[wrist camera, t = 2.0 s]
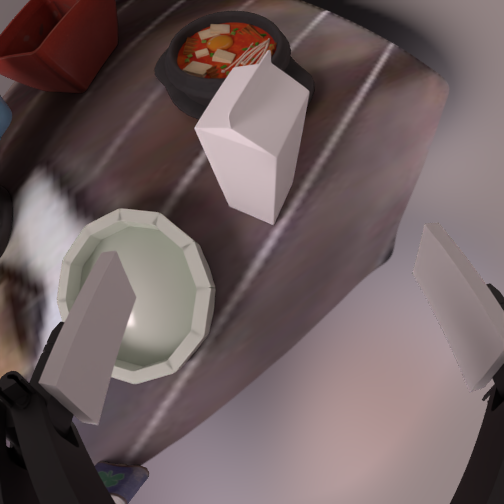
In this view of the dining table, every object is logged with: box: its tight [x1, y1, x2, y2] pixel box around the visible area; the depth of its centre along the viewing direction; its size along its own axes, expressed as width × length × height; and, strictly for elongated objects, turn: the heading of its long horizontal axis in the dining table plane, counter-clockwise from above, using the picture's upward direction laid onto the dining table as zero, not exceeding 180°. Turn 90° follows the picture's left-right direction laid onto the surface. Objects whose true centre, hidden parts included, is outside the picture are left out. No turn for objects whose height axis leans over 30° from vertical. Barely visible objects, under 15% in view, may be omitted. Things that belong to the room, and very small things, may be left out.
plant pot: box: [0, 0, 118, 93], centre depth 35 cm, size 19×19×17 cm
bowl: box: [57, 208, 216, 384], centre depth 35 cm, size 20×20×4 cm
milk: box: [195, 50, 309, 225], centre depth 27 cm, size 6×6×22 cm
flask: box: [95, 461, 149, 504], centre depth 28 cm, size 9×3×11 cm, turn 99°
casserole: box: [155, 11, 314, 119], centre depth 36 cm, size 25×19×8 cm
